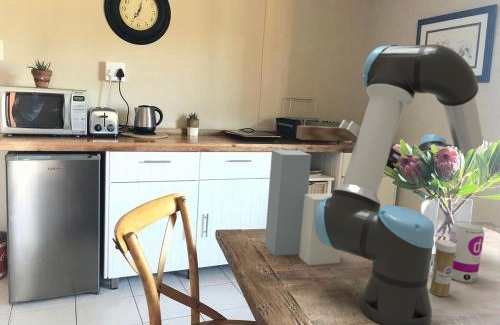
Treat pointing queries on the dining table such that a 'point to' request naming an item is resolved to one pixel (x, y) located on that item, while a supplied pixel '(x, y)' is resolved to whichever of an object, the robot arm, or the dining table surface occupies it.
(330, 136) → the walnut bar
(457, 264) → the supplement can
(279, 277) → the dining table surface
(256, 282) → the dining table surface
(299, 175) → the step stand
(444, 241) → the sprinkles bottle
